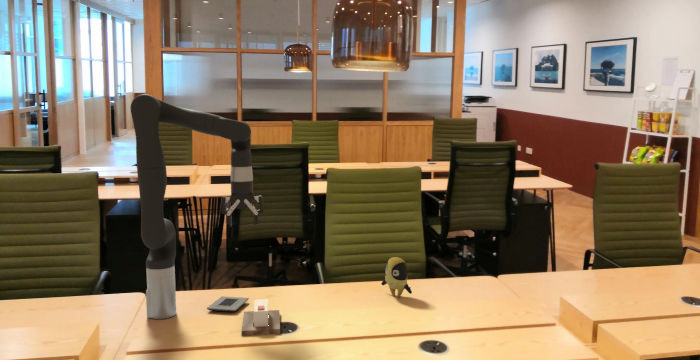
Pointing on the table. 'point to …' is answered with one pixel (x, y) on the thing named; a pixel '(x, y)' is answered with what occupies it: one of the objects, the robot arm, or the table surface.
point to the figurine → (396, 276)
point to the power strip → (261, 313)
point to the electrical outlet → (227, 304)
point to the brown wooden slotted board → (271, 329)
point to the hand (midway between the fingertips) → (242, 225)
